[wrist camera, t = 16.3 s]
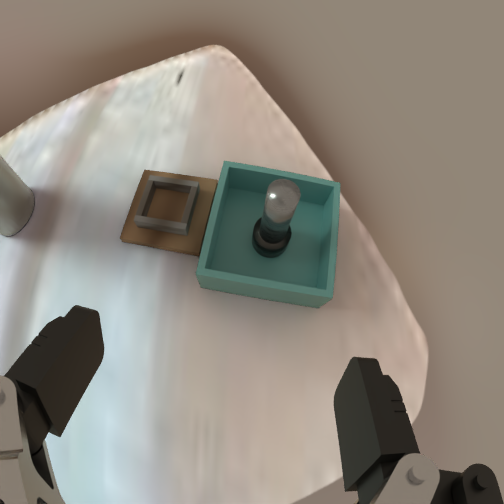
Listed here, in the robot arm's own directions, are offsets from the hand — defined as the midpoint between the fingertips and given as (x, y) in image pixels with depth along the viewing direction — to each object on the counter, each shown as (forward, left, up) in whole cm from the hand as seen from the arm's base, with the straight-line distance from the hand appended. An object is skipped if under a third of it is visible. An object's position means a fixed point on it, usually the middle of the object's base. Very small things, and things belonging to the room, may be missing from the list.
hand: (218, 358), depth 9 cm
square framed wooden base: (-12, +18, -29) cm, 36 cm away
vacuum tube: (+2, +16, -28) cm, 32 cm away
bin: (+2, +16, -29) cm, 33 cm away
